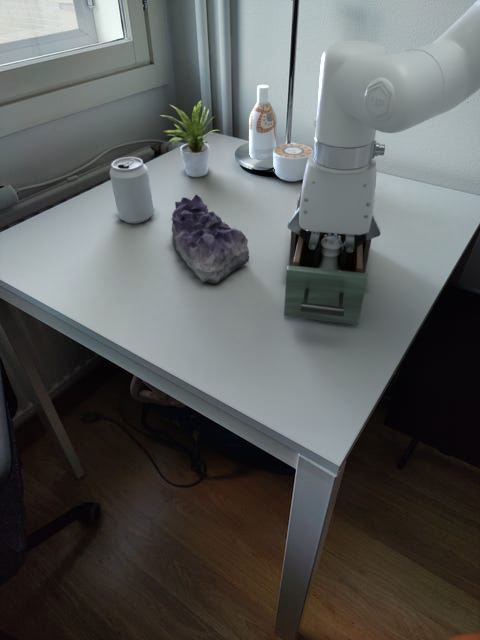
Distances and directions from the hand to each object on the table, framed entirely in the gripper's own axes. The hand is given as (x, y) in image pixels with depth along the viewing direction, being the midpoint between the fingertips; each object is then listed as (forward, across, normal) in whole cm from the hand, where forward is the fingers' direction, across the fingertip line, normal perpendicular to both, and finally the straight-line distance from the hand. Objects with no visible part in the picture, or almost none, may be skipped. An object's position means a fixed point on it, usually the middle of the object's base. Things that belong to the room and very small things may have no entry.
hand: (328, 267), depth 72 cm
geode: (+7, +23, -9) cm, 26 cm away
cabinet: (+7, 0, -11) cm, 13 cm away
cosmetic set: (+6, +11, -46) cm, 48 cm away
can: (+6, +41, -21) cm, 47 cm away
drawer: (+6, 0, +2) cm, 6 cm away
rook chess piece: (+3, 0, 0) cm, 3 cm away
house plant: (+6, +35, -46) cm, 59 cm away
